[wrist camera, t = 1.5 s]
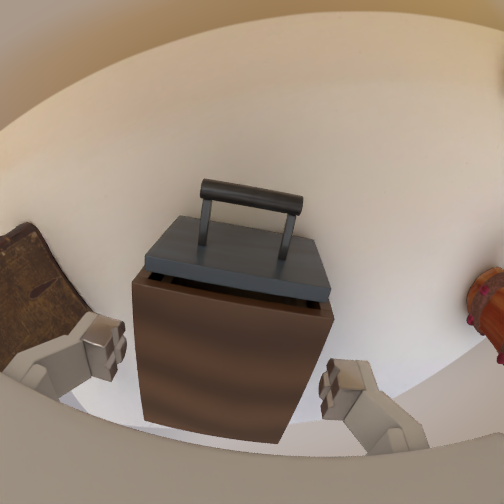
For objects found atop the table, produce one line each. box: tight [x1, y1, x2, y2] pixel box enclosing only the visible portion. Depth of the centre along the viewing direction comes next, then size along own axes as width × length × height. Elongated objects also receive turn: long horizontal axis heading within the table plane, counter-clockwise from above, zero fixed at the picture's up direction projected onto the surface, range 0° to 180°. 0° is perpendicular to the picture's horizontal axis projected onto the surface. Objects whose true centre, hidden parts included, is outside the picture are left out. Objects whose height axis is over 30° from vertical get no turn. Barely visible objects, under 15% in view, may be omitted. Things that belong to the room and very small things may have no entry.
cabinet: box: [132, 266, 334, 444], centre depth 28 cm, size 17×14×11 cm
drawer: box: [145, 179, 331, 308], centre depth 26 cm, size 20×13×9 cm, turn 170°
